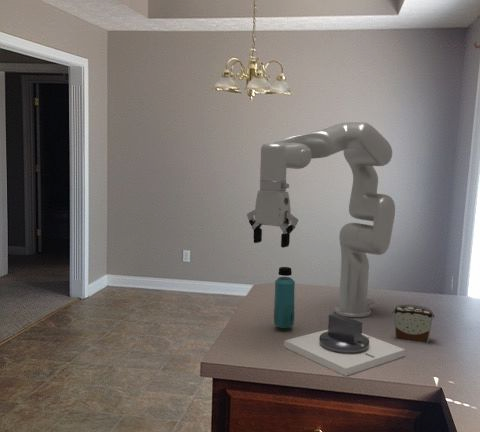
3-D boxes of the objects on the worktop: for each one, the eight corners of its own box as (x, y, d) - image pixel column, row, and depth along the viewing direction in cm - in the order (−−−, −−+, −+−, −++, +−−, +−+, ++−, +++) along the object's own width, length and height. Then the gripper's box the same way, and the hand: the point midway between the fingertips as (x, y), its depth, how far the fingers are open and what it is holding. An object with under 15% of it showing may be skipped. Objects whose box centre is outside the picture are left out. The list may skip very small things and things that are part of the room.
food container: (433, 337, 175) (435, 306, 174) (432, 344, 169) (435, 312, 168) (392, 332, 179) (393, 301, 178) (390, 338, 173) (392, 307, 172)
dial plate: (341, 331, 178) (342, 325, 178) (404, 356, 159) (405, 349, 159) (284, 347, 164) (284, 340, 164) (345, 376, 145) (346, 368, 145)
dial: (309, 341, 163) (310, 316, 162) (342, 332, 171) (344, 308, 170) (345, 357, 152) (346, 330, 151) (379, 346, 160) (380, 321, 159)
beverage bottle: (292, 333, 176) (295, 270, 173) (271, 331, 177) (273, 269, 174) (294, 326, 182) (297, 266, 179) (274, 324, 184) (276, 264, 181)
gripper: (305, 187, 161) (303, 246, 164) (256, 183, 172) (254, 239, 174) (291, 189, 155) (289, 250, 158) (241, 185, 166) (239, 242, 168)
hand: (271, 244), depth 166 cm, fingers open, 9 cm apart
